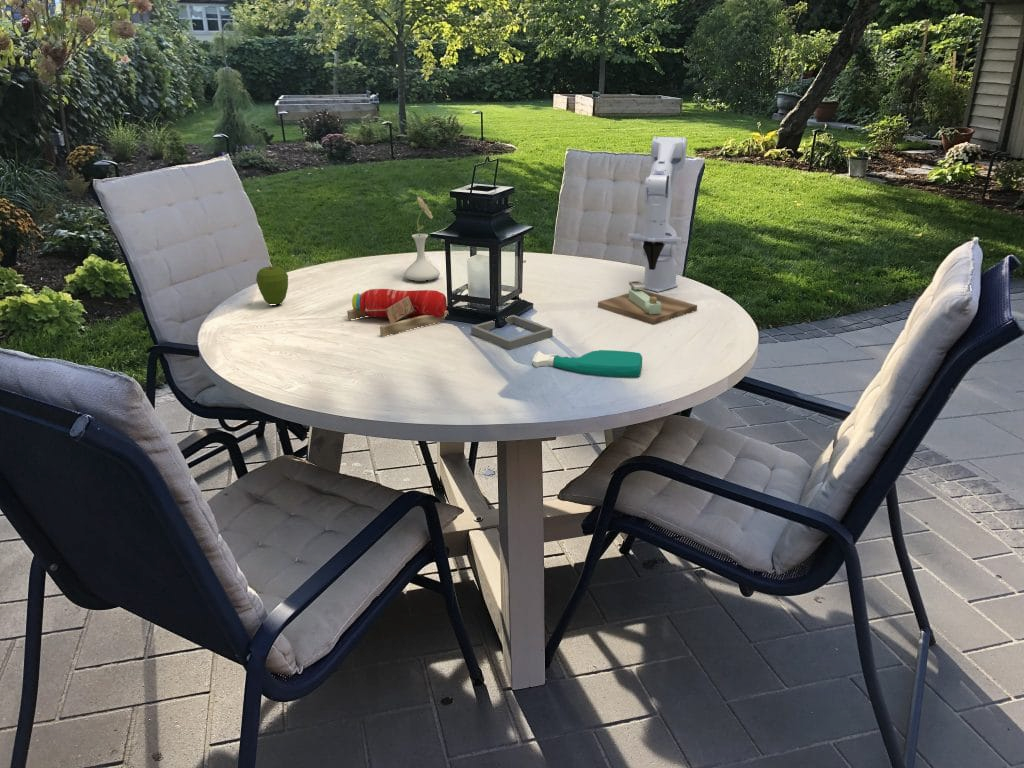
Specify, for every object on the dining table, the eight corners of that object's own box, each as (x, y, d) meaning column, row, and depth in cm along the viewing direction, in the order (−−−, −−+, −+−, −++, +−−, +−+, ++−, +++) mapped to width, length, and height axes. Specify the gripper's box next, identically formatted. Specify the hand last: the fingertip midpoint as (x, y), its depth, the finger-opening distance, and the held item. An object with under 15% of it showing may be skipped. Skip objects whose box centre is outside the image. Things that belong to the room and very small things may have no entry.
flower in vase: (438, 284, 237) (434, 201, 227) (401, 284, 237) (396, 201, 228) (442, 272, 249) (439, 194, 239) (407, 272, 249) (402, 194, 240)
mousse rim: (513, 322, 203) (513, 314, 203) (552, 336, 193) (552, 329, 192) (471, 333, 195) (471, 326, 194) (509, 349, 185) (509, 341, 184)
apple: (267, 311, 213) (262, 270, 208) (254, 305, 219) (248, 265, 214) (296, 305, 218) (292, 265, 214) (283, 298, 224) (278, 259, 219)
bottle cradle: (411, 304, 218) (410, 296, 217) (448, 320, 205) (448, 311, 204) (348, 319, 206) (347, 310, 205) (383, 337, 193) (382, 327, 192)
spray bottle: (639, 381, 168) (528, 374, 173) (642, 362, 178) (537, 356, 183) (640, 368, 167) (528, 361, 172) (643, 350, 176) (537, 344, 182)
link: (662, 313, 204) (663, 304, 203) (648, 314, 203) (648, 305, 202) (640, 297, 217) (640, 289, 216) (627, 298, 216) (627, 290, 215)
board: (641, 294, 226) (642, 275, 223) (696, 310, 211) (698, 290, 209) (597, 307, 215) (598, 287, 213) (653, 324, 201) (655, 303, 199)
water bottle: (436, 304, 195) (341, 300, 199) (439, 332, 199) (346, 328, 203) (447, 283, 205) (356, 280, 209) (449, 310, 209) (361, 307, 213)
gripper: (625, 220, 210) (623, 269, 215) (679, 224, 205) (675, 274, 210) (632, 216, 216) (629, 263, 221) (684, 219, 211) (680, 268, 216)
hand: (652, 268), depth 216 cm, fingers closed
